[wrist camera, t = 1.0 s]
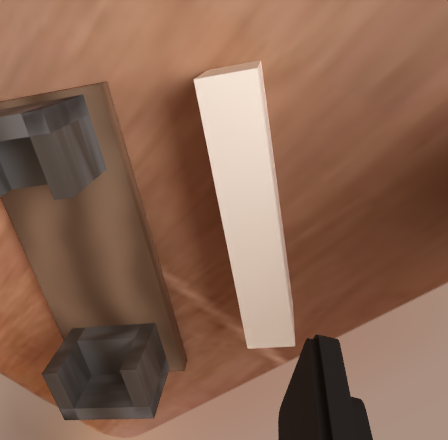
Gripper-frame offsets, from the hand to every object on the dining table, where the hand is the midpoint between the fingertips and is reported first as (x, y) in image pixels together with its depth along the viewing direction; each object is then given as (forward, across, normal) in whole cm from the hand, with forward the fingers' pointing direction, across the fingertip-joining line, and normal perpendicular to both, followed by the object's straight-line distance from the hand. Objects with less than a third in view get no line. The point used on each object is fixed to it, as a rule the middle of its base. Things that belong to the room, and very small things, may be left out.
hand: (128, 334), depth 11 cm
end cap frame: (+24, +10, +14) cm, 29 cm away
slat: (+24, -4, +6) cm, 25 cm away
